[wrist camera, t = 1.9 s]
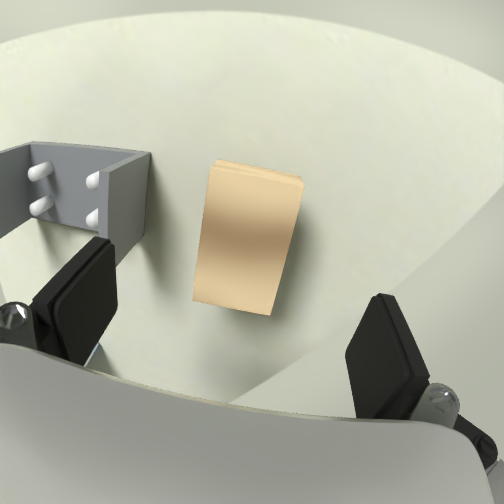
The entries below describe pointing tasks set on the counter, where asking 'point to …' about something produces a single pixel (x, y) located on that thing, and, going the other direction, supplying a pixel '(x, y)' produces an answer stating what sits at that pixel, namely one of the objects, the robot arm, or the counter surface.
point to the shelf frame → (76, 189)
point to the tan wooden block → (245, 235)
